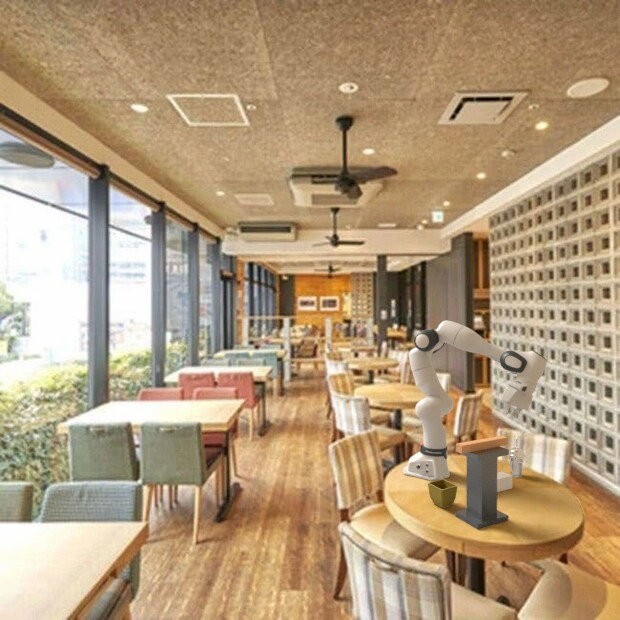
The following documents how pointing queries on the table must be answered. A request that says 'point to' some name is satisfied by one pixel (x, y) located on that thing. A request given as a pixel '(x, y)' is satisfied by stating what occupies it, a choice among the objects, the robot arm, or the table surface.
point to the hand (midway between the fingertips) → (509, 414)
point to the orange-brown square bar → (481, 444)
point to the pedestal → (482, 488)
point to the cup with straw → (516, 459)
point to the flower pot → (442, 492)
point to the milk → (503, 481)
